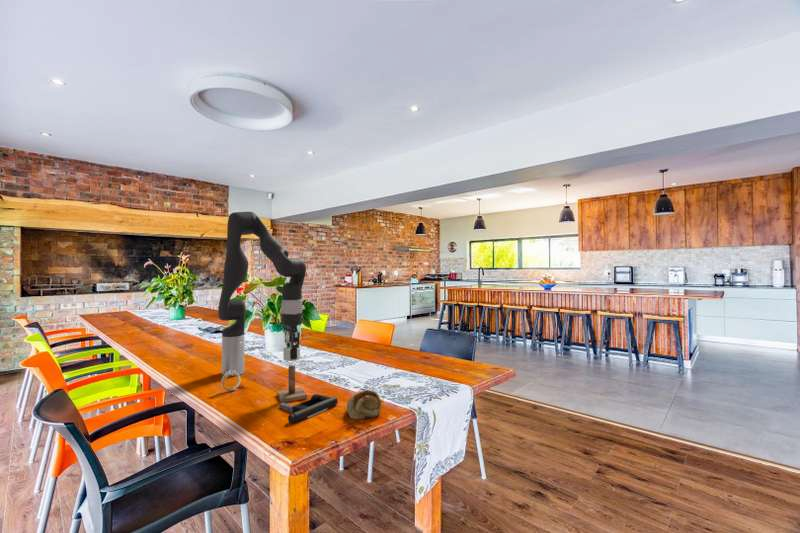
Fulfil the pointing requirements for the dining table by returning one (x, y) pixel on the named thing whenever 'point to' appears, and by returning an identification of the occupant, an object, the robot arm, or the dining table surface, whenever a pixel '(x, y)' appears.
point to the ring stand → (291, 389)
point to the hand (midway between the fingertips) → (291, 357)
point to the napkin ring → (287, 354)
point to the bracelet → (227, 377)
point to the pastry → (364, 404)
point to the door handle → (309, 407)
